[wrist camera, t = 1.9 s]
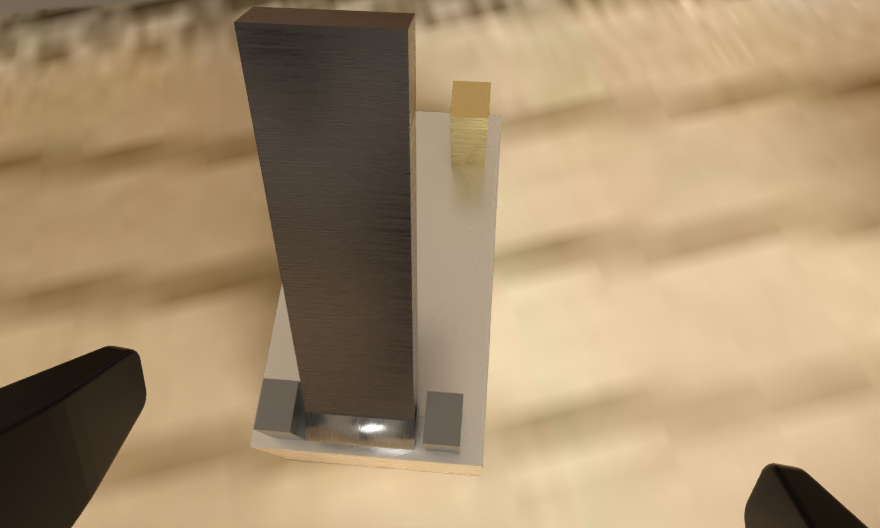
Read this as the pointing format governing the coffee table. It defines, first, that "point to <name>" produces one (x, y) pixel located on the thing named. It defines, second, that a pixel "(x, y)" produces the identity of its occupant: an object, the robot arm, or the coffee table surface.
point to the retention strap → (342, 209)
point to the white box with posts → (422, 306)
